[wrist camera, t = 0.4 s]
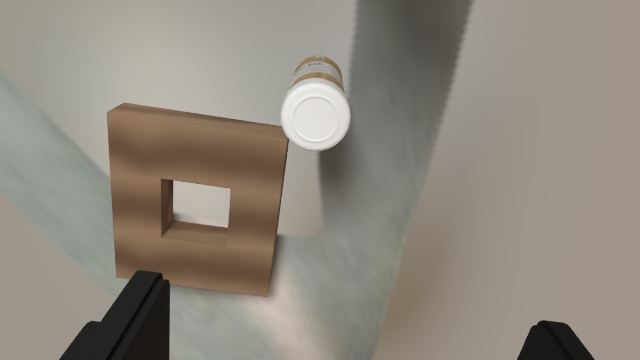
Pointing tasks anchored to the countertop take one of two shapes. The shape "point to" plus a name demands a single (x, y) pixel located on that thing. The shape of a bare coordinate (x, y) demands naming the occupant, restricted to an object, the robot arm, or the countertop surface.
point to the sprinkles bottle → (316, 106)
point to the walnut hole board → (201, 168)
